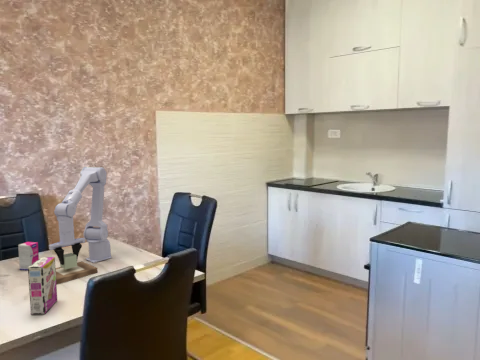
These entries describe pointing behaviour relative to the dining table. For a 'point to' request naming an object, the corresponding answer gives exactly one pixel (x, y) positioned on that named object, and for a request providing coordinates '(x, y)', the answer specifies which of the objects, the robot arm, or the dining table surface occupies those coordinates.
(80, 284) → the dining table surface
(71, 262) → the sage cube
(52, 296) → the candy bar box
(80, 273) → the base board
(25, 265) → the supplement box
